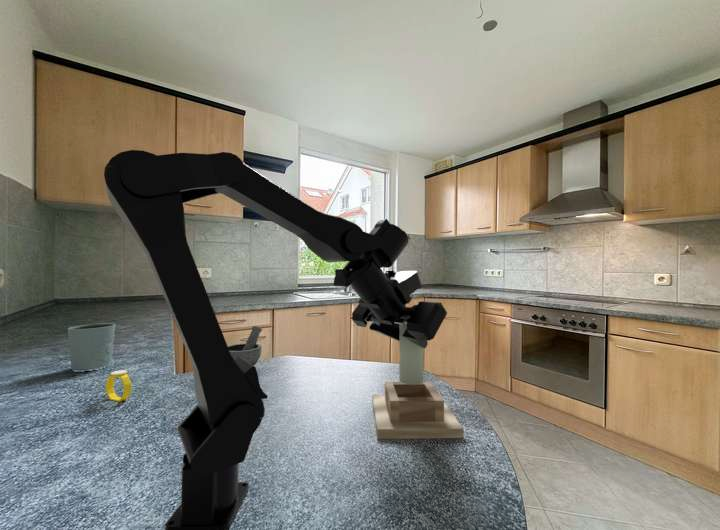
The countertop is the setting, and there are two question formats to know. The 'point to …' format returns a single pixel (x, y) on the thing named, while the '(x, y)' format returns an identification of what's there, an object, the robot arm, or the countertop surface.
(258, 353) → the mortar and pestle
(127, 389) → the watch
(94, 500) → the countertop surface
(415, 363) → the post
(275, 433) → the countertop surface
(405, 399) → the socket base
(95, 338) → the grey plant pot
